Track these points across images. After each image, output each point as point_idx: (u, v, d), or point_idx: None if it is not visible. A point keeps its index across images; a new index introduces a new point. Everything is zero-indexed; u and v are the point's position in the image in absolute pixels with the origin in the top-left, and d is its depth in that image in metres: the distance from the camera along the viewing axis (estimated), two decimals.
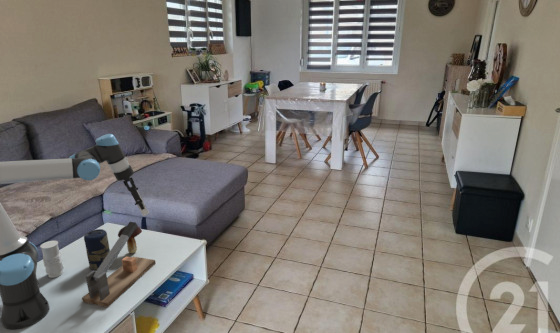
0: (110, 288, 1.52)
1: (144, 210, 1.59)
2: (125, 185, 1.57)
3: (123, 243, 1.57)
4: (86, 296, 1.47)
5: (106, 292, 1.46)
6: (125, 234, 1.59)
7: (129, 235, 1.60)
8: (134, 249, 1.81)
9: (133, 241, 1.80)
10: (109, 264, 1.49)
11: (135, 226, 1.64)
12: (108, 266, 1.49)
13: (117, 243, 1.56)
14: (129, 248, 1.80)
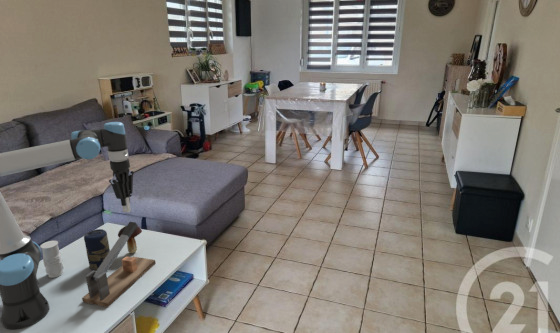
0: (110, 288, 1.52)
1: (125, 207, 1.58)
2: None
3: (123, 243, 1.57)
4: (86, 296, 1.47)
5: (106, 292, 1.46)
6: (125, 234, 1.59)
7: (129, 235, 1.60)
8: (134, 249, 1.81)
9: (133, 241, 1.80)
10: (109, 264, 1.49)
11: (135, 226, 1.64)
12: (108, 266, 1.49)
13: (117, 243, 1.56)
14: (129, 248, 1.80)
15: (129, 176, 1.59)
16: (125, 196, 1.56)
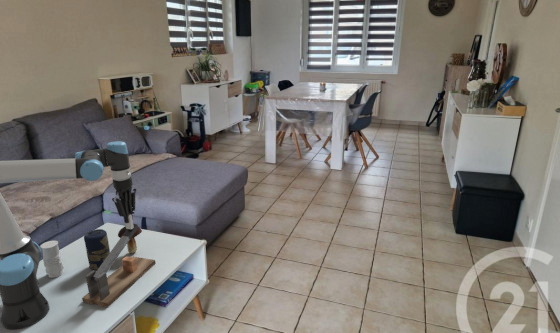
0: (110, 288, 1.52)
1: (128, 224, 1.61)
2: None
3: (124, 244, 1.57)
4: (86, 296, 1.47)
5: (106, 292, 1.46)
6: (126, 235, 1.60)
7: (130, 236, 1.61)
8: (134, 249, 1.81)
9: (133, 241, 1.80)
10: (109, 264, 1.50)
11: (136, 228, 1.64)
12: (108, 266, 1.49)
13: (118, 244, 1.57)
14: (129, 248, 1.80)
15: (132, 193, 1.62)
16: (128, 213, 1.59)
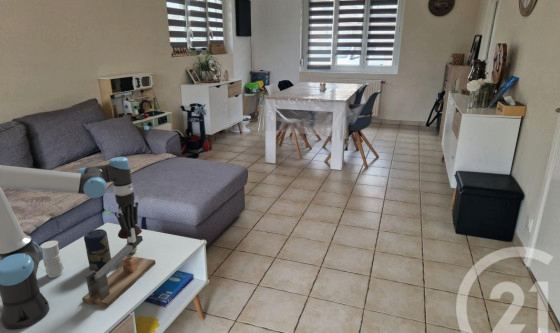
0: (110, 288, 1.52)
1: (130, 238, 1.63)
2: None
3: (127, 252, 1.60)
4: (86, 296, 1.47)
5: (106, 292, 1.46)
6: (130, 244, 1.63)
7: (134, 246, 1.64)
8: (134, 249, 1.81)
9: None
10: (111, 267, 1.51)
11: (140, 240, 1.68)
12: (109, 269, 1.50)
13: (121, 251, 1.59)
14: None
15: (134, 207, 1.64)
16: (130, 228, 1.61)
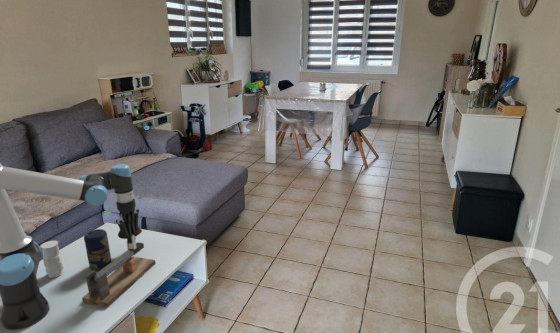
0: (110, 288, 1.52)
1: (131, 244, 1.64)
2: None
3: (128, 256, 1.61)
4: (86, 296, 1.47)
5: (106, 292, 1.46)
6: (131, 250, 1.64)
7: (135, 252, 1.65)
8: None
9: None
10: (111, 269, 1.51)
11: (142, 246, 1.69)
12: (110, 271, 1.50)
13: (122, 255, 1.60)
14: None
15: (135, 214, 1.65)
16: (131, 234, 1.62)
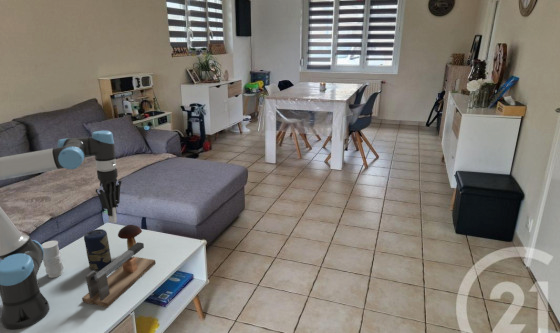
0: (110, 288, 1.52)
1: (111, 217, 1.55)
2: None
3: (128, 256, 1.61)
4: (86, 296, 1.47)
5: (106, 292, 1.46)
6: (131, 250, 1.64)
7: (135, 252, 1.65)
8: None
9: (133, 241, 1.80)
10: (111, 269, 1.51)
11: (142, 246, 1.69)
12: (110, 271, 1.50)
13: (122, 255, 1.60)
14: None
15: (116, 186, 1.56)
16: (112, 206, 1.53)
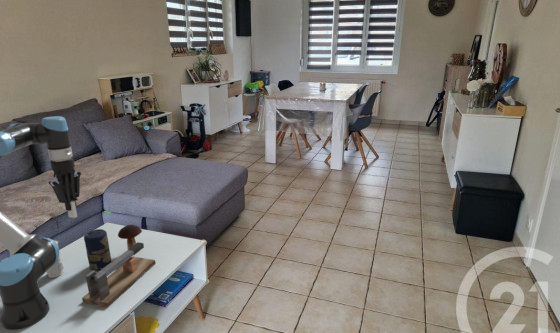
0: (110, 288, 1.52)
1: (70, 212, 1.42)
2: None
3: (128, 256, 1.61)
4: (86, 296, 1.47)
5: (106, 292, 1.46)
6: (131, 250, 1.64)
7: (135, 252, 1.65)
8: None
9: (133, 241, 1.80)
10: (111, 269, 1.51)
11: (142, 246, 1.69)
12: (110, 271, 1.50)
13: (122, 255, 1.60)
14: None
15: (75, 177, 1.42)
16: (70, 200, 1.39)
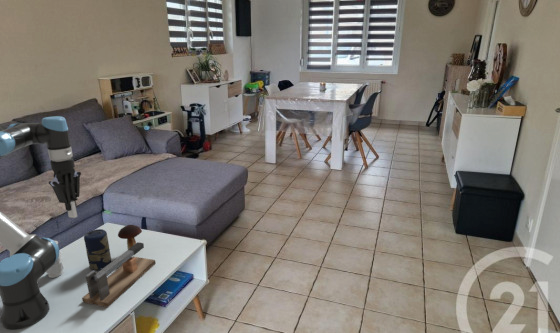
0: (110, 288, 1.52)
1: (70, 212, 1.42)
2: None
3: (128, 256, 1.61)
4: (86, 296, 1.47)
5: (106, 292, 1.46)
6: (131, 250, 1.64)
7: (135, 252, 1.65)
8: None
9: (133, 241, 1.80)
10: (111, 269, 1.51)
11: (142, 246, 1.69)
12: (110, 271, 1.50)
13: (122, 255, 1.60)
14: None
15: (75, 177, 1.42)
16: (70, 200, 1.39)
